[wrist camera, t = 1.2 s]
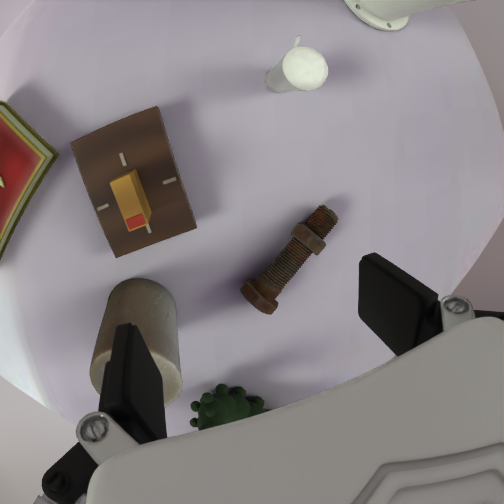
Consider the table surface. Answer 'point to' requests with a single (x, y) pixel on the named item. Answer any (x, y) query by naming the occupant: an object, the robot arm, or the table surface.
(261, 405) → the toy figurine
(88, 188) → the lock plate
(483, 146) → the table surface
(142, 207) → the thumbturn
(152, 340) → the pillar candle
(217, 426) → the robot arm
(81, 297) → the table surface
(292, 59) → the milkshake
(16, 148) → the hardcover book
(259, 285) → the bolt
